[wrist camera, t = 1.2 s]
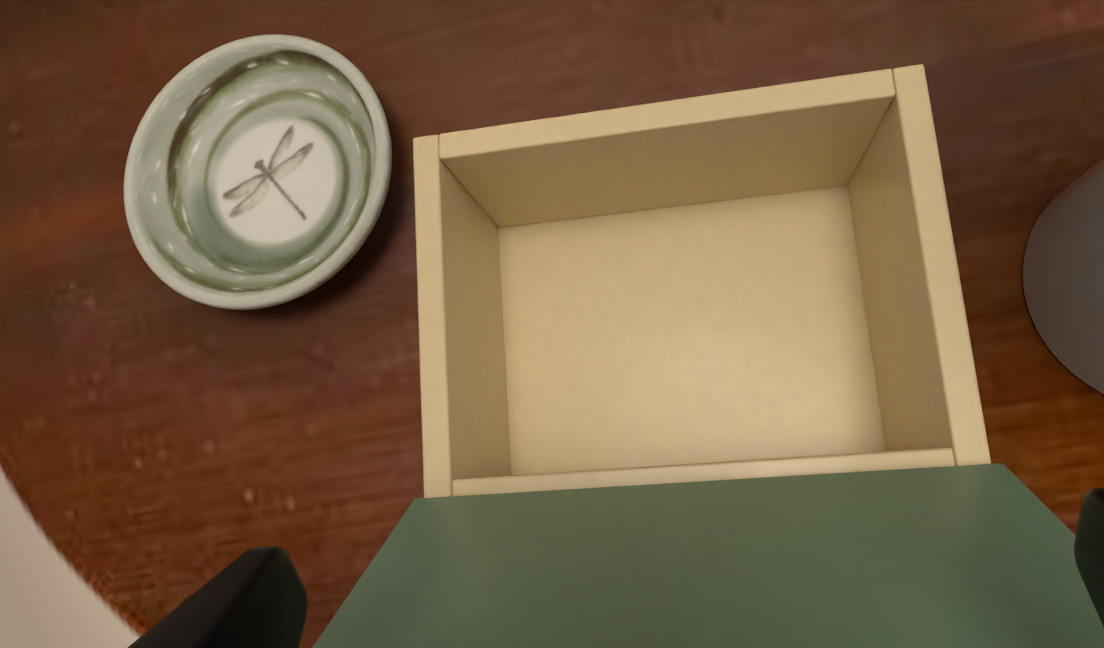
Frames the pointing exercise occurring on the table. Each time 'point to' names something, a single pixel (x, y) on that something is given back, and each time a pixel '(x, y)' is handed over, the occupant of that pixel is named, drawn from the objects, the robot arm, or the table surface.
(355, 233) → the saucer
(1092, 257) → the stepped grey cylinder
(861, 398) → the open box
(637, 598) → the lid
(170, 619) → the robot arm
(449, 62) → the table surface
